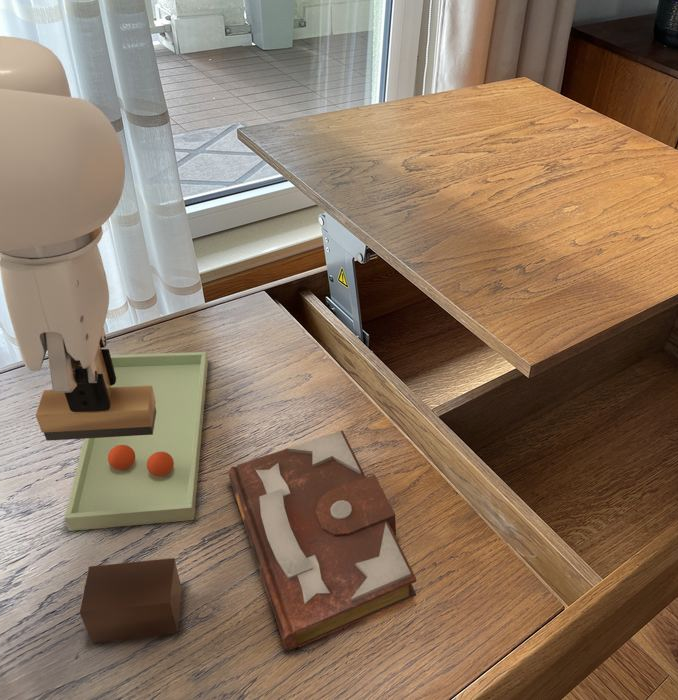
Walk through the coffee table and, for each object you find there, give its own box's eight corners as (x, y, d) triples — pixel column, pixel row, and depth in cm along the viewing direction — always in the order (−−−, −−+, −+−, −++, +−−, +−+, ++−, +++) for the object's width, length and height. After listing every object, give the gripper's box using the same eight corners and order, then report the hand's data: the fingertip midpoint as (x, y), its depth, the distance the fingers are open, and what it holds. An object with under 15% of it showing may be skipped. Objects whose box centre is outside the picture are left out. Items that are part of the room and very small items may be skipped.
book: (232, 489, 88) (225, 464, 85) (351, 448, 94) (349, 423, 90) (287, 656, 73) (281, 633, 70) (424, 595, 79) (425, 572, 76)
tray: (194, 520, 83) (191, 507, 82) (69, 531, 80) (64, 518, 78) (208, 364, 103) (206, 351, 101) (108, 368, 100) (104, 355, 98)
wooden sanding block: (154, 435, 67) (136, 360, 61) (45, 442, 65) (15, 364, 59) (157, 410, 69) (141, 336, 63) (52, 416, 67) (25, 339, 61)
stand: (177, 633, 73) (169, 602, 69) (92, 644, 71) (78, 612, 67) (182, 589, 76) (174, 557, 73) (100, 598, 75) (88, 566, 71)
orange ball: (135, 474, 86) (131, 457, 84) (108, 476, 85) (103, 459, 84) (138, 455, 88) (134, 438, 86) (112, 456, 88) (107, 440, 86)
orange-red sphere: (174, 480, 86) (170, 464, 84) (147, 482, 85) (143, 466, 84) (176, 461, 88) (173, 445, 86) (150, 463, 88) (146, 447, 86)
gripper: (13, 166, 57) (67, 339, 69) (-52, 285, 46) (26, 469, 58) (115, 168, 59) (150, 337, 71) (77, 284, 48) (126, 462, 59)
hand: (94, 395), depth 64 cm, fingers closed on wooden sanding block, 2 cm apart
